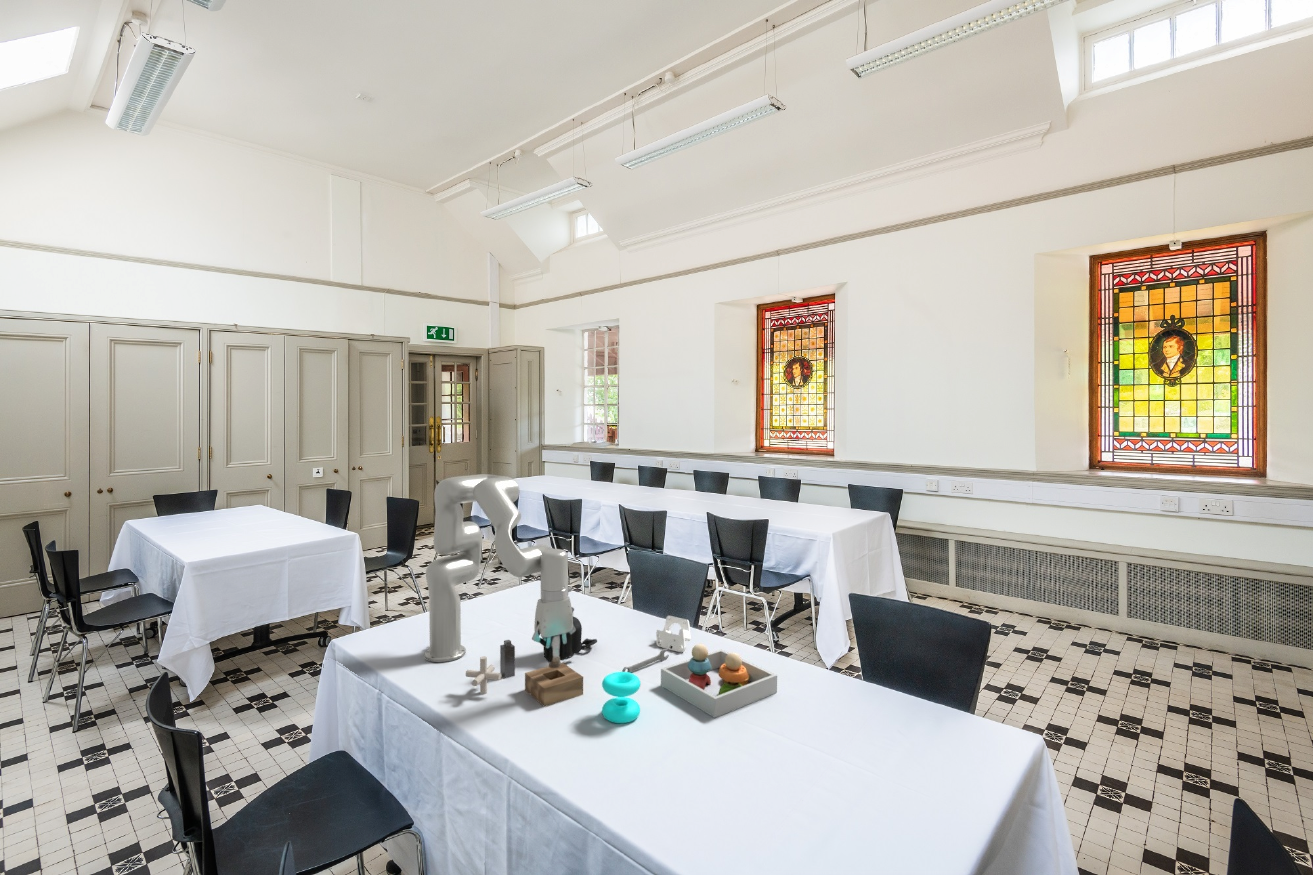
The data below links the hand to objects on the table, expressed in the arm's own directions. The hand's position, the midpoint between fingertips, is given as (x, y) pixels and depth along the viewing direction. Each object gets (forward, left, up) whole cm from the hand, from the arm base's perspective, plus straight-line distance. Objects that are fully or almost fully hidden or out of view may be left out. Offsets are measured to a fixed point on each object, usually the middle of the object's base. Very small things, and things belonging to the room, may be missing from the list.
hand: (554, 657), depth 170 cm
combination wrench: (+2, +31, -10) cm, 33 cm away
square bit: (-18, -6, -10) cm, 22 cm away
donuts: (+22, +8, -10) cm, 25 cm away
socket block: (0, 0, -10) cm, 10 cm away
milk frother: (-22, +18, -10) cm, 31 cm away
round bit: (0, 0, -2) cm, 2 cm away
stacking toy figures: (+25, +40, -10) cm, 49 cm away
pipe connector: (-12, -16, -10) cm, 22 cm away
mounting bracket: (-7, +49, -10) cm, 51 cm away
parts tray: (+26, +39, -10) cm, 48 cm away
